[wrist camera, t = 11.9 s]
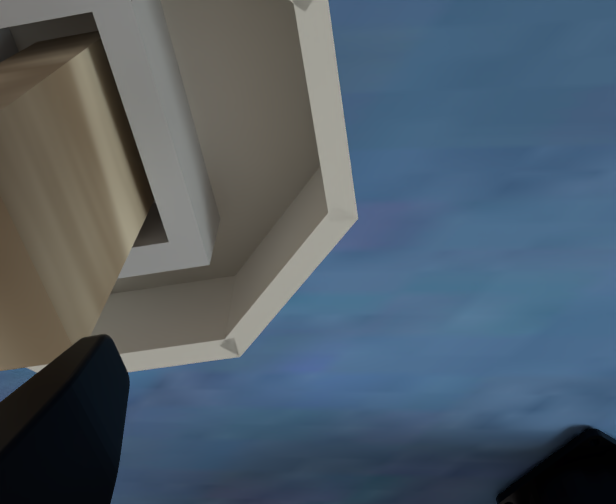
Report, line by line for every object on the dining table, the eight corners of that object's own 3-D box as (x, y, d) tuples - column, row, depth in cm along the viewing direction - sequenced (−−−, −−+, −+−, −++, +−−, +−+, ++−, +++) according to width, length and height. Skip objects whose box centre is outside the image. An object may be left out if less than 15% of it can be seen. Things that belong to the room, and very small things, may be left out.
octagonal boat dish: (-8, 317, 24) (-67, 398, 20) (-247, -113, 16) (-416, -116, 12) (361, 263, 23) (374, 338, 19) (293, -226, 15) (291, -267, 11)
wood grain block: (95, 191, 20) (-30, 374, 13) (37, 41, 18) (-166, 156, 10) (163, 181, 20) (78, 359, 12) (114, 27, 17) (-30, 133, 10)
